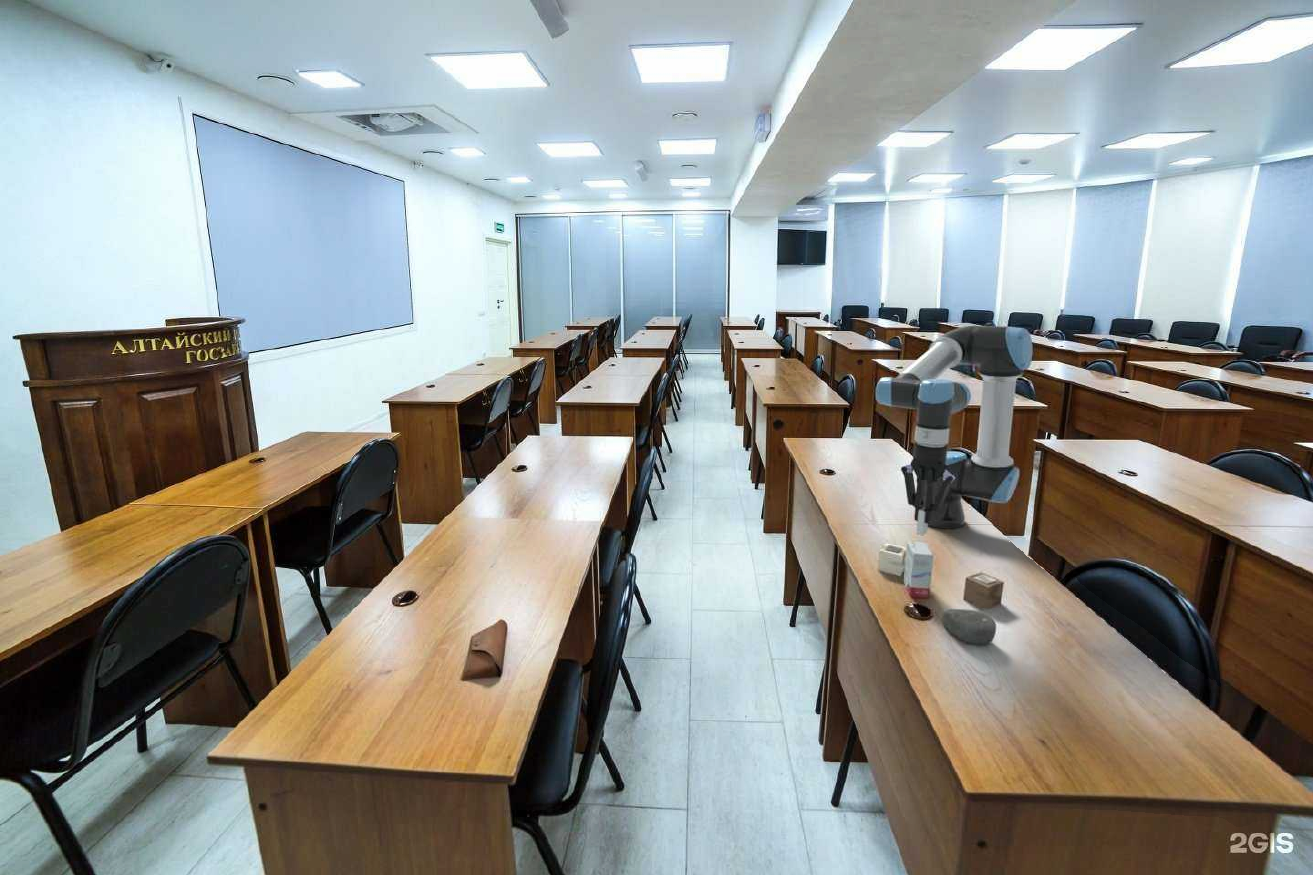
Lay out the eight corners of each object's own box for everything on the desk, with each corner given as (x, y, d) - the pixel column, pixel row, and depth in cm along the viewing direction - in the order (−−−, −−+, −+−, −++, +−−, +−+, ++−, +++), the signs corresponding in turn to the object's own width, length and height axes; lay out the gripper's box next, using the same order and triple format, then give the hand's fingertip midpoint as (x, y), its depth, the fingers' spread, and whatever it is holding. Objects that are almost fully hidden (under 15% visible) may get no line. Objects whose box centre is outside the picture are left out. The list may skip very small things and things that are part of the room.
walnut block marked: (978, 593, 158) (981, 571, 156) (1000, 603, 152) (1004, 581, 151) (963, 599, 155) (965, 576, 153) (985, 609, 150) (988, 586, 148)
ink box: (929, 598, 155) (934, 555, 152) (909, 597, 156) (913, 554, 153) (922, 583, 163) (926, 541, 160) (903, 581, 164) (906, 540, 161)
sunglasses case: (469, 633, 142) (483, 609, 141) (498, 644, 144) (511, 620, 143) (460, 682, 125) (475, 655, 124) (492, 693, 127) (507, 667, 126)
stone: (974, 620, 145) (988, 596, 138) (989, 656, 138) (1004, 632, 132) (935, 621, 145) (947, 596, 138) (948, 656, 138) (962, 632, 132)
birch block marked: (884, 562, 175) (886, 542, 174) (906, 568, 172) (908, 547, 170) (877, 570, 171) (879, 549, 169) (899, 576, 167) (901, 555, 166)
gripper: (897, 441, 152) (889, 530, 158) (951, 451, 143) (941, 545, 149) (911, 436, 157) (903, 522, 163) (964, 445, 148) (954, 536, 154)
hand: (921, 533), depth 156 cm, fingers closed
